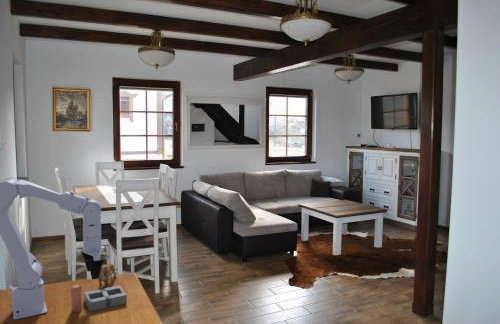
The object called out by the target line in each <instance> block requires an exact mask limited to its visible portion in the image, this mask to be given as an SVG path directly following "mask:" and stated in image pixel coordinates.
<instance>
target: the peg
mask: <svg viewBox="0 0 500 324" xmlns="http://www.w3.org/2000/svg"><path fill="white" fill-rule="evenodd" d="M70 297H71V298H70V299H71V300H70V301H71V312H72V313H79V312H81V311H82V309H83V307H82V286H81V285H80V284H75V285H72V286H71V287H70Z"/></svg>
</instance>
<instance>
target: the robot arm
mask: <svg viewBox="0 0 500 324" xmlns="http://www.w3.org/2000/svg"><path fill="white" fill-rule="evenodd" d="M17 197H18V198H19V199H24V198H27V197H34V198H37V199H41V200H43V201H48V202H52V203H54V204H55V203H56V205H57V206H58V207H59V209H61V210H65V211H68V212H70V213H74V214H77V215H82V216H83V222H82V243H83V244H82V245H83V248H82V250H81V251H80V253H81V255H82V257H83V259H84V263H85V267H86V271H87V272H89V273H90V277H91V279H92V280H97V279H98V278H99V276H100V271H101V267H102V266H103V264H104V262H105V261H106V259H105V257H101V253H102V251H103V250H105V249H106V246H105V245H102V221H101V219H102V217H101V214H102V205H101V202H99V200H97V199H96V198H92V197H91V198H90V197H89V196H86V197H85V196H81V195H78V194H76V193H75V191H73V190H70V191H65V192H61V193H60V192H57V191H55V190H52V189H50V188H47V187H44V186H42V185H39V184H36V183H34V182H31V181H28V180H25V179H18V178H16V177H13V176H12V177H6V178H5V179H3V180H2V181H1V182H0V237H1V239H2V242H3V243H4V246H5V247H6V249H7V250H8V252H9V254H10V257H11V258H12V260H13V262H14V271H15V273H16V279H17V280H16V281H17V284H18V285H17V286H15V287H12V288H11V301H12V302H11V303H12V304H11V308H10V309H11V312H12V315H13V317H12V318H13V320H19V319H23V318H29V317H33V316H36V315H42V314H46V313H48V309H47V305H46V302H45V285H44V284H45V283H44V280H43V278H42V274H43V272H44V266H43V263H42V262H41V261H39V260H37V258H36V257H35V255H34V254H33V253H31V251H30V249H29V247H28V246H27V244H26V242H25V239H24V238H23V235H22V233H21V231H20V229H19V227H18V225H17V224H16V221H15V220H14V218H13V216H12V214H11V211H10V208H11V206H12V204H13V202H14V201H15V199H16V198H17ZM98 280H99V279H98Z"/></svg>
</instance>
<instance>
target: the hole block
mask: <svg viewBox="0 0 500 324" xmlns="http://www.w3.org/2000/svg"><path fill="white" fill-rule="evenodd" d="M83 294H84V302H85V304H86V306H87V309H88V311H89V312H92V311H98V310H99V311H100V310H102V309H103V310H104V309H107V308H111V307H116V306H120V305H125V304H127V301H128V300H127V294H126V292H125V291H124V289H123V288H122V286H121V285H114V286H111V287H110V286H109V287H105V288H101V289H100V288H99V289H95V290H90V291H85V292H84V293H83Z"/></svg>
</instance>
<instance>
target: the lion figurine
mask: <svg viewBox="0 0 500 324" xmlns="http://www.w3.org/2000/svg"><path fill="white" fill-rule="evenodd" d="M115 269H116V268H115V265H114V264H113V263H111V262H109V263H106V264H105V265H102V267H101V271H100V276H99V278H98V284H99V285H98V288H99V289H100V288H101V289H102V288H103V283H102V282H105V288H109V287H110V285H109V279H110V278H109V277H110V276H112V275H113V277H112V278H113V279H117V271H116V270H115Z"/></svg>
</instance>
